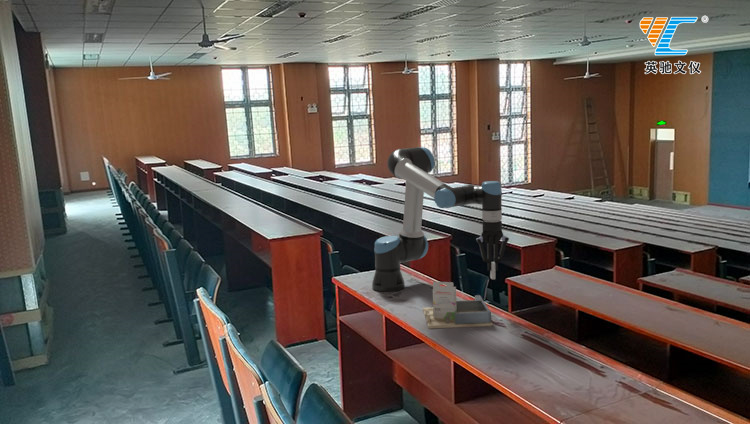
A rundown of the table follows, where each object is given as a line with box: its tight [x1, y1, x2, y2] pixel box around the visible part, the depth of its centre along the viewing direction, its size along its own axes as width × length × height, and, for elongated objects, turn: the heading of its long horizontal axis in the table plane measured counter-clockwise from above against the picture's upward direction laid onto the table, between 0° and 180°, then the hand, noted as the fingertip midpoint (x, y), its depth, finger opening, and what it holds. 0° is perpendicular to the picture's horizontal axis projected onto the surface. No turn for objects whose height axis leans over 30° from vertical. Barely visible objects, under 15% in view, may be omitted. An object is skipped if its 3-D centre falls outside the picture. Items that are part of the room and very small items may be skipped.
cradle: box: [422, 306, 493, 329], centre depth 229 cm, size 21×24×4 cm
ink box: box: [432, 281, 457, 319], centre depth 226 cm, size 9×5×15 cm, turn 72°
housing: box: [455, 294, 492, 324], centre depth 229 cm, size 21×14×4 cm, turn 1°
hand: (492, 278), depth 235 cm, fingers closed
